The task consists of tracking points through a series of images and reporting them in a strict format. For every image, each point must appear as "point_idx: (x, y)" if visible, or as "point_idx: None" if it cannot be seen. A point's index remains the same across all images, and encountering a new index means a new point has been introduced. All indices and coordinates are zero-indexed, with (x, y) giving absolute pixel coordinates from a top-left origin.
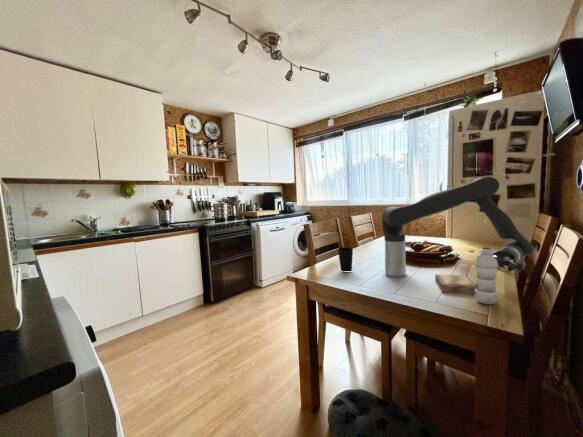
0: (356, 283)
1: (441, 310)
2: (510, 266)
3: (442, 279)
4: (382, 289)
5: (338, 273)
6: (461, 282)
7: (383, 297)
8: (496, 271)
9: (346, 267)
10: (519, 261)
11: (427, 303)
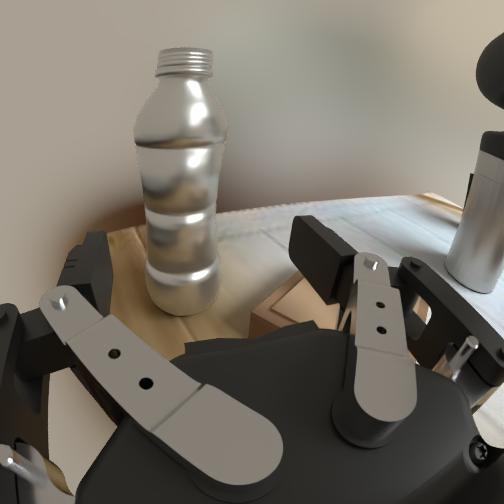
0: (403, 212)
1: (227, 220)
2: (88, 235)
3: None
4: (367, 217)
5: (454, 220)
6: (318, 296)
7: (327, 204)
8: (138, 164)
9: (462, 214)
10: (10, 449)
11: (268, 223)
